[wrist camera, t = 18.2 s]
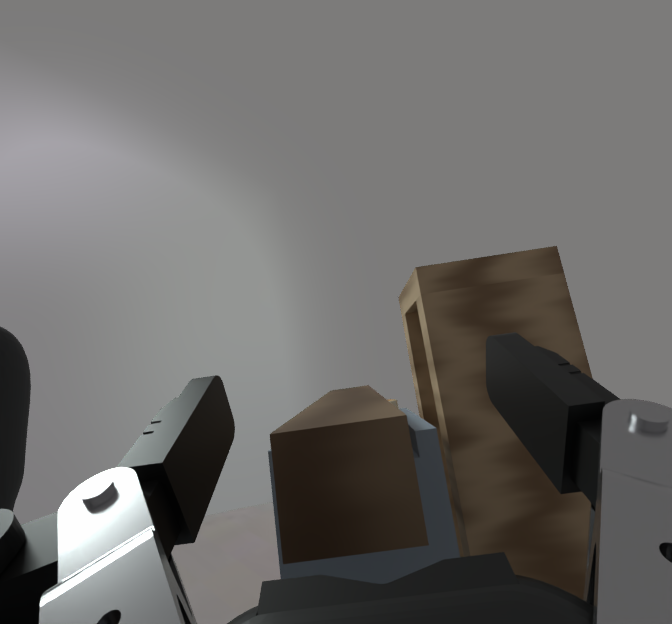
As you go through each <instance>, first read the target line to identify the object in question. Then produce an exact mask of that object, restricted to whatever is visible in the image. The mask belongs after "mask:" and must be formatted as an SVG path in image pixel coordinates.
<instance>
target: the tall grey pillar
mask: <svg viewBox="0 0 672 624" xmlns="http://www.w3.org/2000/svg"><path fill="white" fill-rule="evenodd" d="M399 410H401V411H402V412H403V413H405V414H406V415H407V421H408V426H409V432H410V438H411V444H412V450H413V456H414V461H415V467H416V473H417V479H418V485H419V491H420V496H421V502H422V508H423V514H424V520H425V526H426V531H427V537H428V543H429V545H428V546H420V547H413V548H405V549H397V550H390V551H382V552H374V553H367V554H359V555H351V556H344V557H336V558H328V559H321V560H313V561H305V562H298V563H290V564H283V560H282V550H281V540H280V530H279V520H278V511H277V501H276V491H275V481H274V471H273V461H272V451H271V449H270V450H269V451H268V454H269V465H270V474H271V485H272V495H273V505H274V515H275V525H276V535H277V545H278V555H279V565H280V575H281V579H288V578H296V577H305V576H313V575H327V576H333V577H339V578H346V579H352V580H358V581H364V582H370V583H377V584H385V583H389V582H392V581H394V580H397V579H399V578H401V577H404V576H406V575H408V574H411V573H413V572H415V571H418V570H420V569H422V568H425V567H427V566H429V565H432V564H434V563H436V562H439V561H441V560H443V559H451V558H459V557H460V553H459V548H458V542H457V537H456V531H455V526H454V521H453V515H452V510H451V504H450V499H449V494H448V488H447V483H446V477H445V472H444V467H443V461H442V456H441V450H440V445H439V440H438V434H437V429H436V427H434V426H433V425H431V424H430V423H428V422H427V421H425V420H424V419H422V418H421V417H419V416H418V415H416V414H414V413H413V412H411V411H410V410H408V409H407V408H402V409H399Z"/></svg>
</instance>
